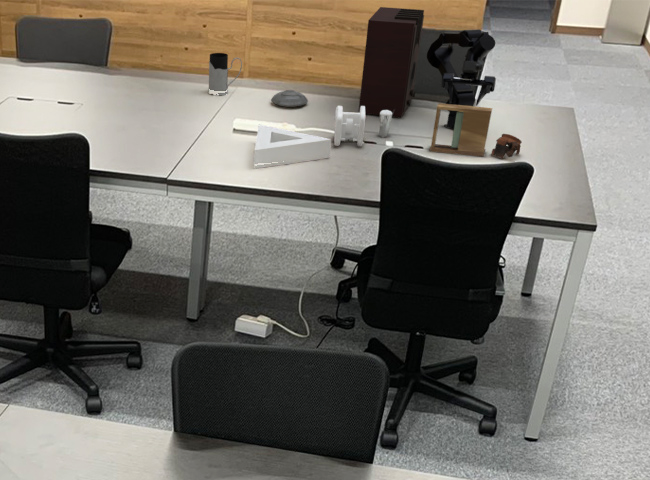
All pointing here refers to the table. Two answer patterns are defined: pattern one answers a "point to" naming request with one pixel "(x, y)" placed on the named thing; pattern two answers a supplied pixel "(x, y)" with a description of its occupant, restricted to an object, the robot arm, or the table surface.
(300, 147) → the triangle block
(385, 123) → the milkshake
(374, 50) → the radio
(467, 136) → the door frame
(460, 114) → the door
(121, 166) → the table surface
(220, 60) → the glass holder
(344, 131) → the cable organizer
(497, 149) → the brown miniature stool
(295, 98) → the flying saucer
